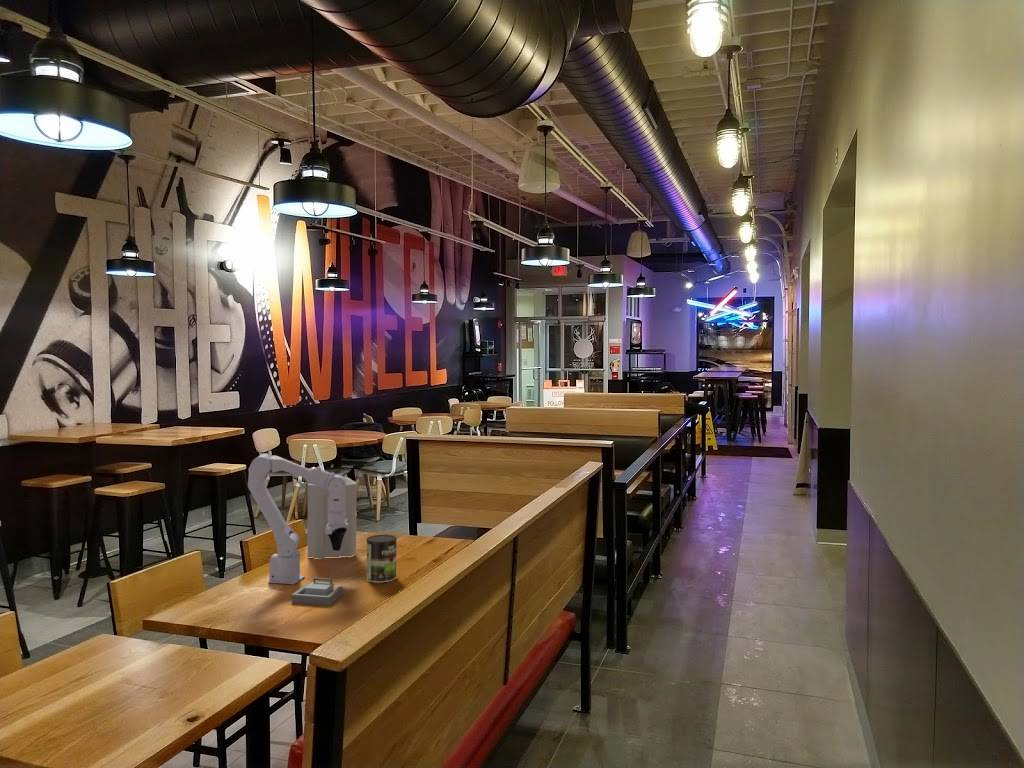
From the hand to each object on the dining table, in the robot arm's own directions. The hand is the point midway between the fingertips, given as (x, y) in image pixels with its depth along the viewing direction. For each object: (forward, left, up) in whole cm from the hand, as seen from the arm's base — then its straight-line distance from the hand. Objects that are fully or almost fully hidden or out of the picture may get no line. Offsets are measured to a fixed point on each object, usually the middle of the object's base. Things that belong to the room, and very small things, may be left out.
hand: (336, 550), depth 237 cm
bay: (+2, -19, -10) cm, 22 cm away
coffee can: (+15, +3, -10) cm, 18 cm away
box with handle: (+2, -19, -10) cm, 21 cm away
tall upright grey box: (-11, +28, -10) cm, 32 cm away
